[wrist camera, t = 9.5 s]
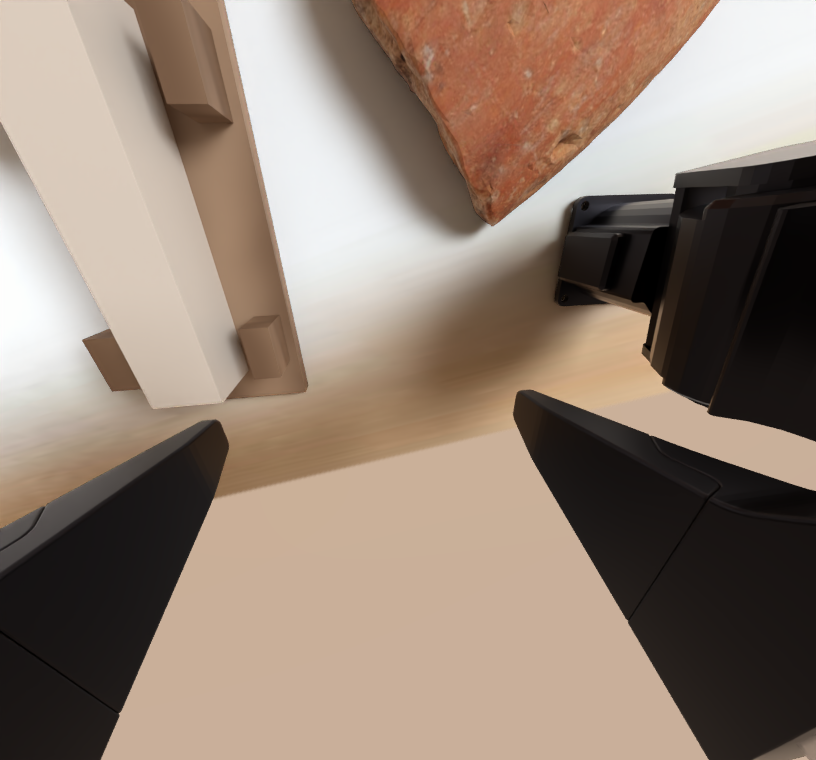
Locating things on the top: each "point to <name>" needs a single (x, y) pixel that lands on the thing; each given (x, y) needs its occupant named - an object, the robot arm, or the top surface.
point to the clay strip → (118, 191)
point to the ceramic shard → (526, 77)
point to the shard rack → (218, 192)
